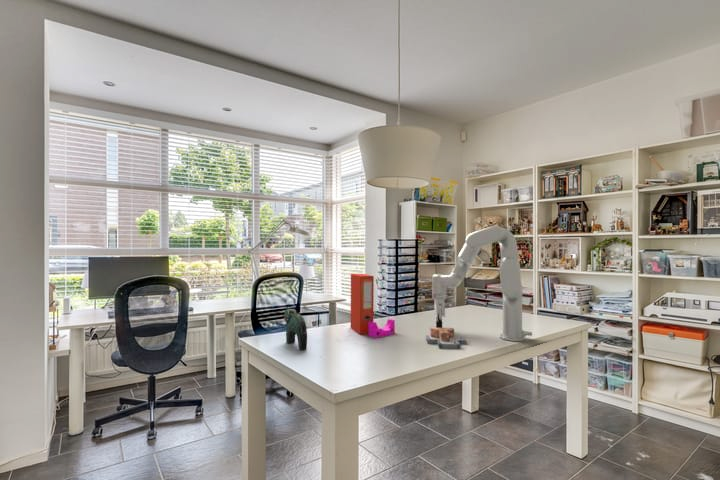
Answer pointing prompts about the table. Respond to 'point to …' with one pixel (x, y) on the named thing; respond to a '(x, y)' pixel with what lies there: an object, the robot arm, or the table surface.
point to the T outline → (446, 345)
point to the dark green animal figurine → (295, 328)
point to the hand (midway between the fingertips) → (439, 328)
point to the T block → (442, 333)
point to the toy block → (384, 331)
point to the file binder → (361, 302)
